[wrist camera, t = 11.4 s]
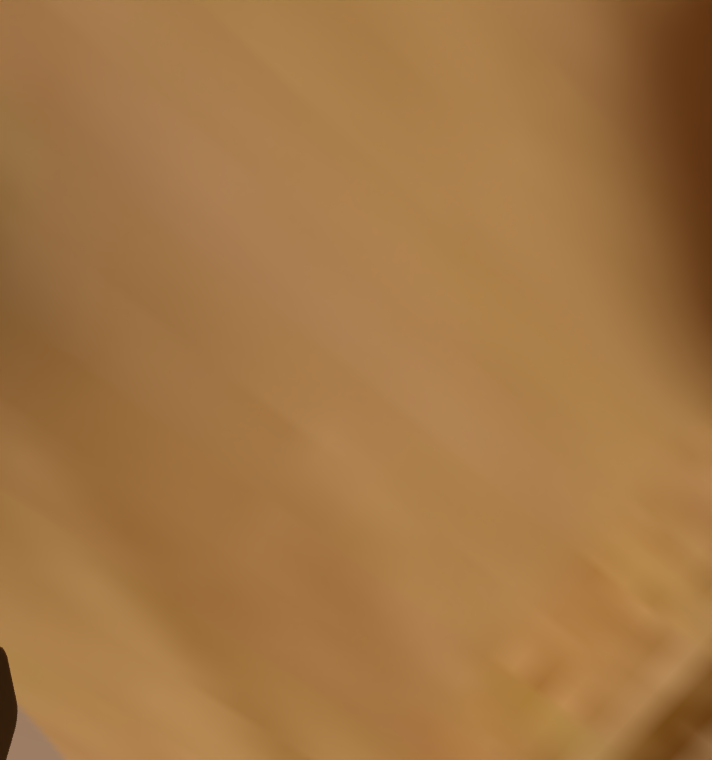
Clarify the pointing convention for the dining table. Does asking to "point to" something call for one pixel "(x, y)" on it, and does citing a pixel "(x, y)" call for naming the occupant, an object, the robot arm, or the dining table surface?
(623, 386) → the dining table surface
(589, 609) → the dining table surface
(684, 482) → the dining table surface
